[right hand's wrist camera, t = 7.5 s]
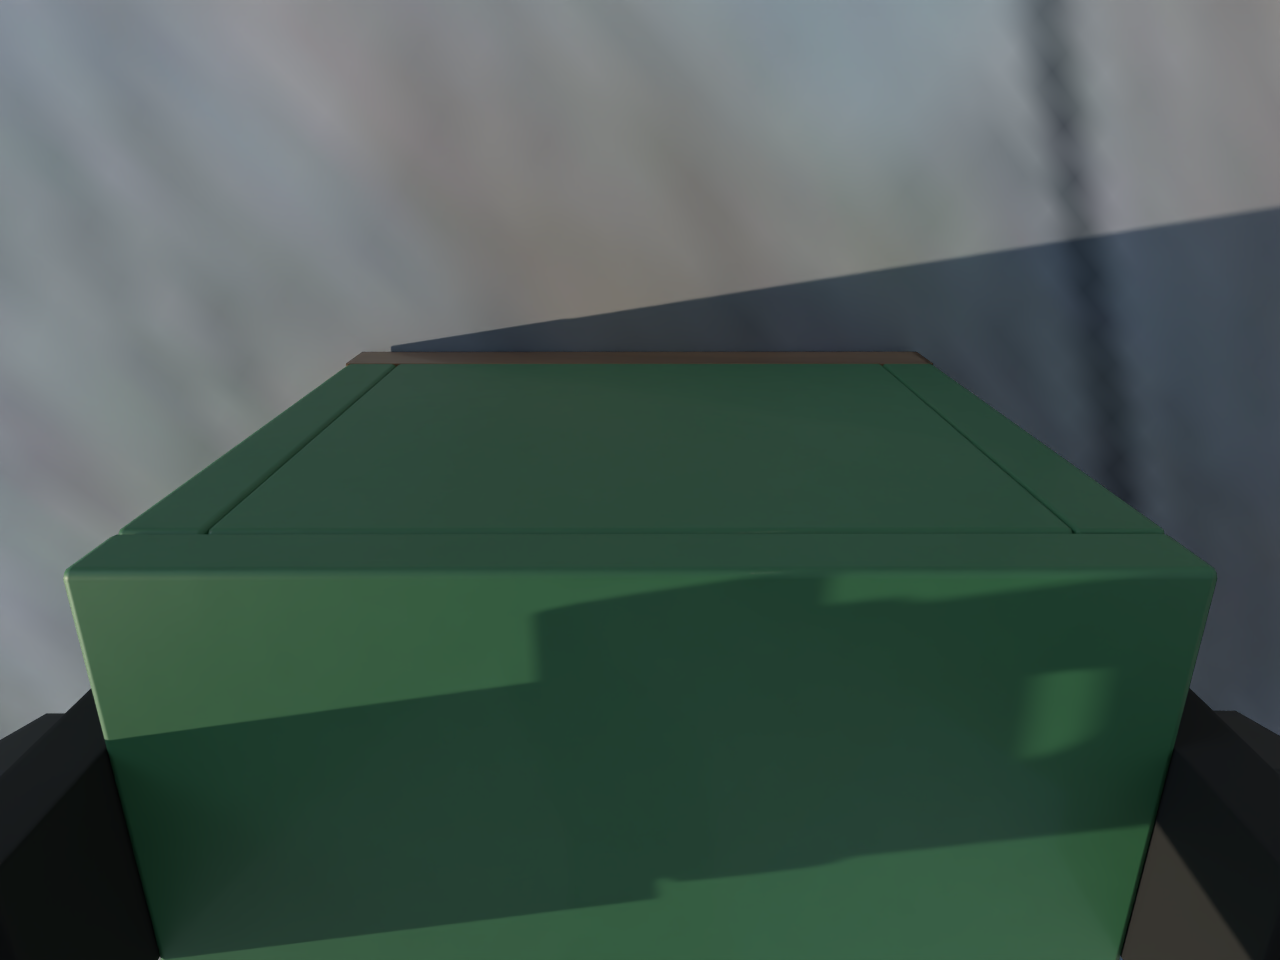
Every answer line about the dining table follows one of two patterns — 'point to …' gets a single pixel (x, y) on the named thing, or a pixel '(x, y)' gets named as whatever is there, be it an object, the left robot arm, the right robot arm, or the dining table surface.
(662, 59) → the dining table surface
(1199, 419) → the dining table surface
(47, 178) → the dining table surface
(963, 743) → the cabinet
